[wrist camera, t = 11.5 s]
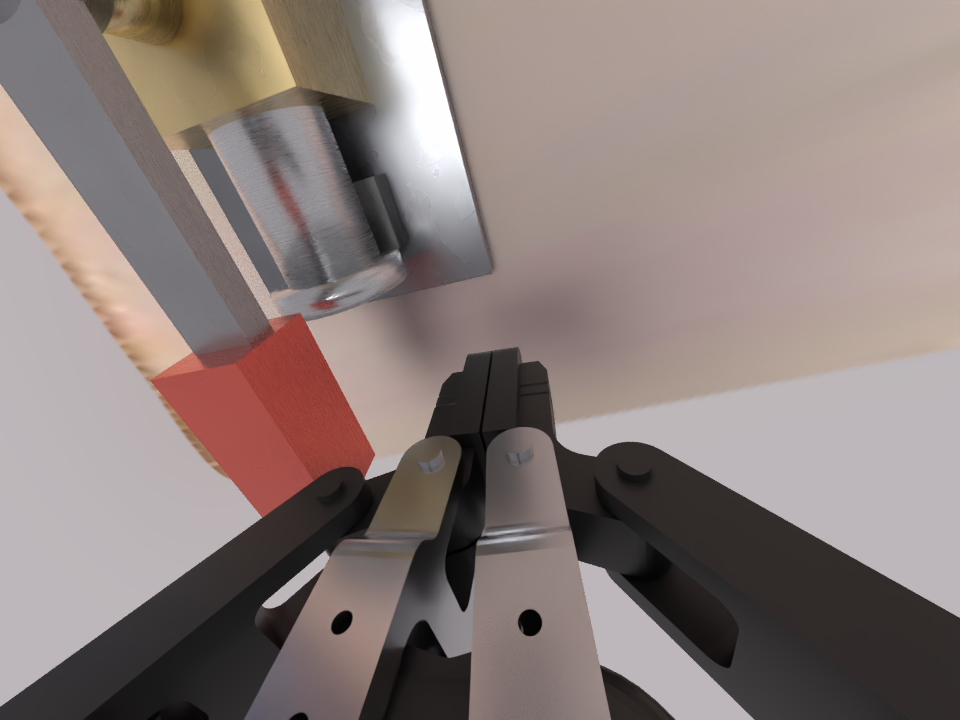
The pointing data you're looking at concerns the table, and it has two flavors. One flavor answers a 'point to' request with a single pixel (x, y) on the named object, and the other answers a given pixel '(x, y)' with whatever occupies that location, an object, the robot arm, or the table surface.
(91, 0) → the valve lever
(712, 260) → the table surface
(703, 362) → the table surface
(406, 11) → the valve body
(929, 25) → the table surface
